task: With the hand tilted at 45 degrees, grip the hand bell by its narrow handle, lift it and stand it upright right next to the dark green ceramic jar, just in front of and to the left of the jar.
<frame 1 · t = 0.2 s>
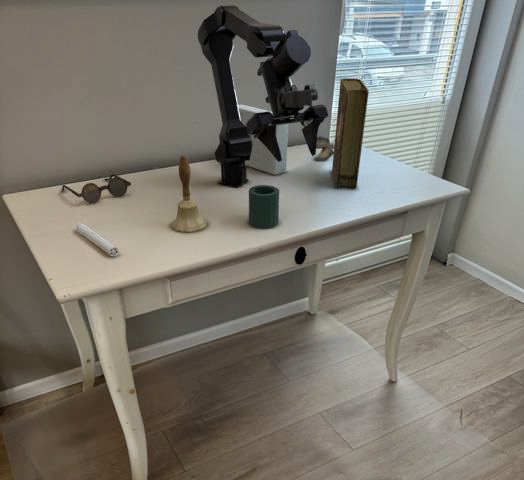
hand: (297, 158, 112), 15 cm above the table, tool tilted 35°, fingers open, 9 cm apart
jar: (263, 222, 120), on the table
white cylindrical rod: (95, 243, 111), on the table
book: (343, 180, 145), on the table
skincare box: (257, 166, 154), on the table
hand bell: (189, 226, 118), on the table
eyeglasses: (95, 192, 135), on the table
open clam shell: (323, 157, 162), on the table
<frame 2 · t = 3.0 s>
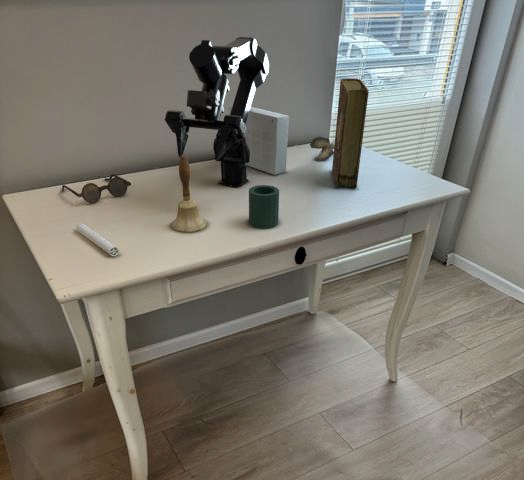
hand: (197, 158, 115), 14 cm above the table, tool tilted 45°, fingers open, 9 cm apart
nothing on the table moved.
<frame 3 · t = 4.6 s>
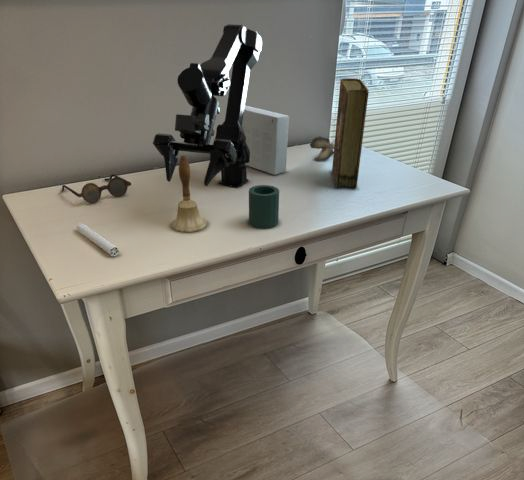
hand: (186, 183, 112), 10 cm above the table, tool tilted 45°, fingers open, 9 cm apart
nothing on the table moved.
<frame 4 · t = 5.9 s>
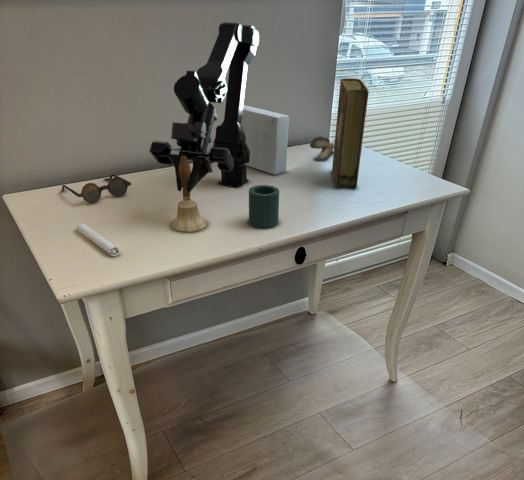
hand: (183, 191, 112), 9 cm above the table, tool tilted 45°, fingers closed on hand bell
hand bell: (189, 226, 118), on the table, touching gripper
everything else where it was.
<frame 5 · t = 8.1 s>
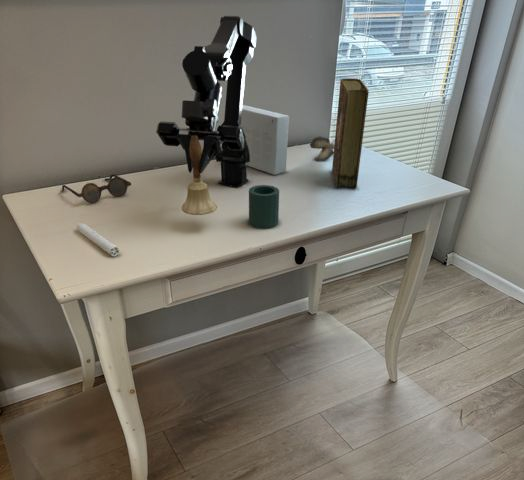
hand: (194, 172, 108), 13 cm above the table, tool tilted 45°, fingers closed on hand bell
hand bell: (199, 209, 115), point 4 cm above the table, touching gripper
everything else where it was.
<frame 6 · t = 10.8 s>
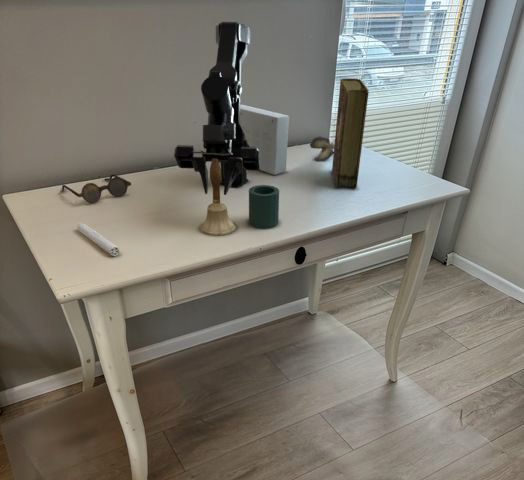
hand: (215, 193, 110), 9 cm above the table, tool tilted 45°, fingers open, 4 cm apart
hand bell: (218, 229, 117), on the table
everything else where it was.
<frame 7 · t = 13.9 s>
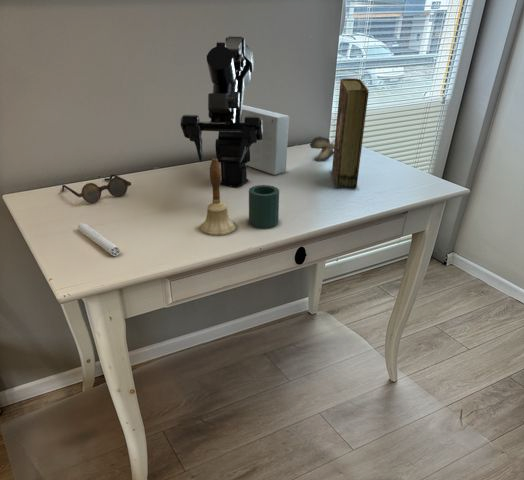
hand: (220, 161, 115), 13 cm above the table, tool tilted 45°, fingers open, 9 cm apart
nothing on the table moved.
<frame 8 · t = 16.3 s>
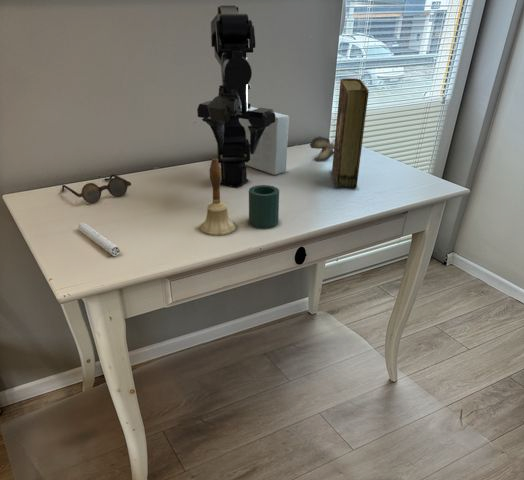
hand: (236, 151, 122), 13 cm above the table, tool pointing down, fingers open, 9 cm apart
nothing on the table moved.
at the end: hand bell 11.3 cm from the jar (horizontally); hand bell inside the target area on the table beside the jar (1.8 cm from its centre), on the table; hand bell tilted 0° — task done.
